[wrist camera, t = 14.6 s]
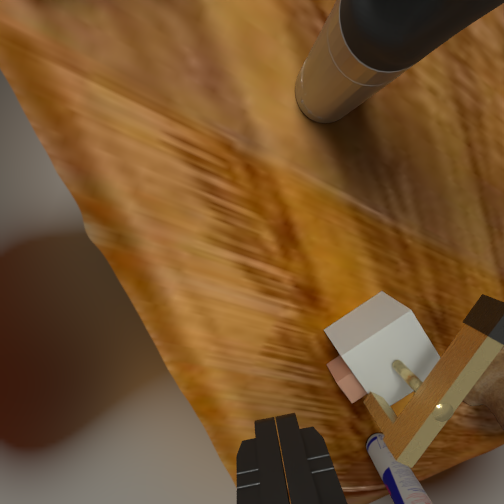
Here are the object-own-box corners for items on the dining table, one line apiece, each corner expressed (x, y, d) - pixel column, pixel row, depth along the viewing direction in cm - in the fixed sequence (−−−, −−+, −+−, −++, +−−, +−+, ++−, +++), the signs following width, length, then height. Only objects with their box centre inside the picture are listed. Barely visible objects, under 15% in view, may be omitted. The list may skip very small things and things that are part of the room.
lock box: (413, 341, 49) (447, 369, 41) (357, 378, 50) (380, 411, 42) (381, 291, 47) (411, 309, 39) (323, 330, 48) (341, 356, 40)
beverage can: (359, 448, 53) (407, 543, 39) (372, 427, 52) (425, 516, 38) (381, 455, 54) (436, 552, 39) (394, 434, 53) (455, 525, 38)
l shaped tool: (375, 411, 42) (414, 470, 33) (360, 404, 41) (395, 462, 32) (460, 288, 38) (529, 316, 29) (445, 279, 38) (510, 305, 29)
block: (367, 393, 45) (352, 403, 45) (354, 374, 50) (340, 383, 50) (351, 372, 44) (336, 382, 44) (340, 354, 49) (326, 363, 49)
